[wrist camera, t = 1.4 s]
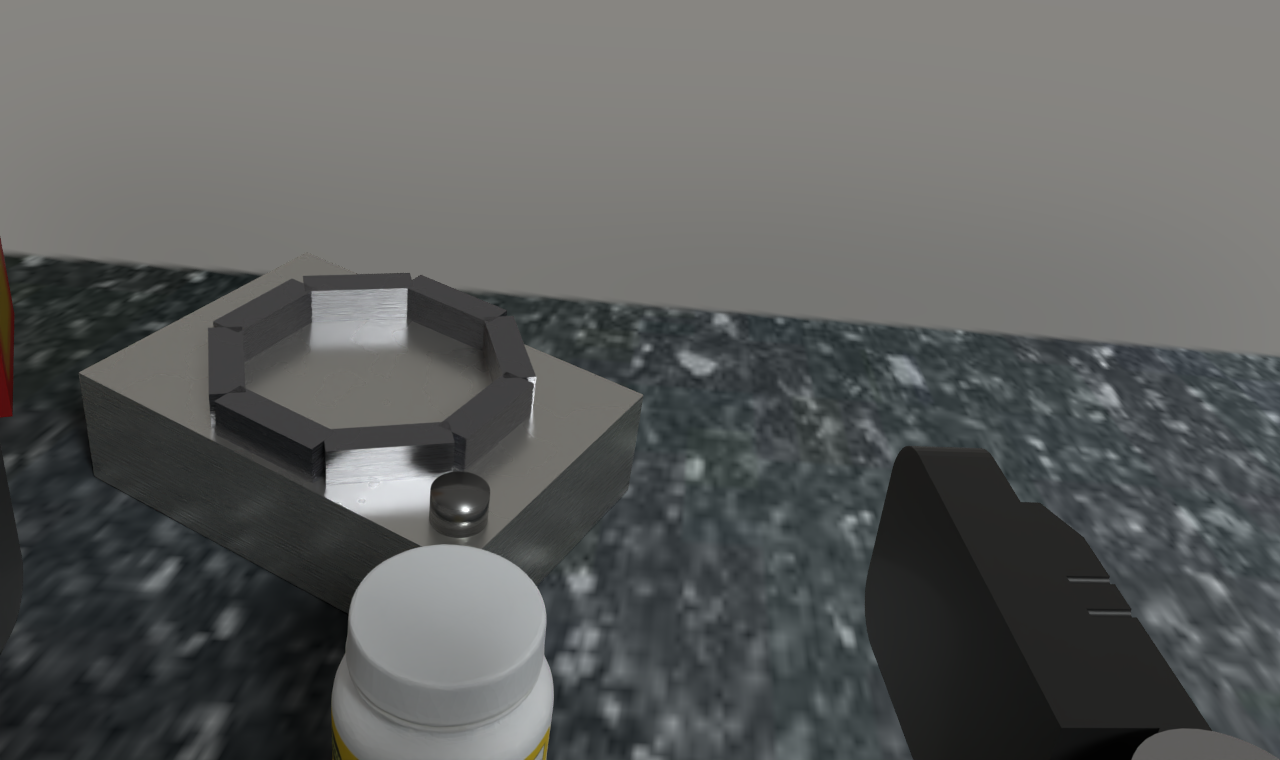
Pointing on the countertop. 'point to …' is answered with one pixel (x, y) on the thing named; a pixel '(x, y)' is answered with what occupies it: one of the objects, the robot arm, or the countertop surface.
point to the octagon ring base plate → (359, 427)
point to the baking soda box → (6, 342)
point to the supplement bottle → (444, 661)
